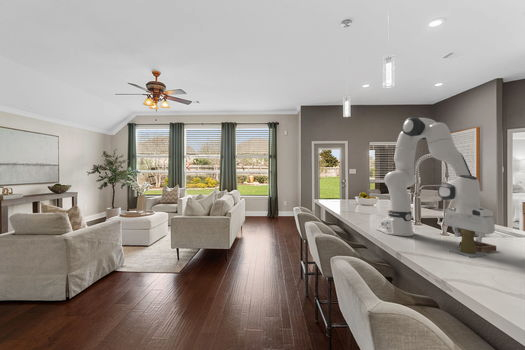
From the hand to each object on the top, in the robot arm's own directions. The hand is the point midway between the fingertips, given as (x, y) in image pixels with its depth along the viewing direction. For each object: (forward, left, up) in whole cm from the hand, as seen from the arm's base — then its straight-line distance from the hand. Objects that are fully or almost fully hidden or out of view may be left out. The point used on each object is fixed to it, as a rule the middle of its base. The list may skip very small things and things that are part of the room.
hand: (467, 239), depth 120 cm
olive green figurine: (0, 0, -6) cm, 6 cm away
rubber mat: (0, 0, -7) cm, 7 cm away
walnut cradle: (-3, +11, -7) cm, 13 cm away
